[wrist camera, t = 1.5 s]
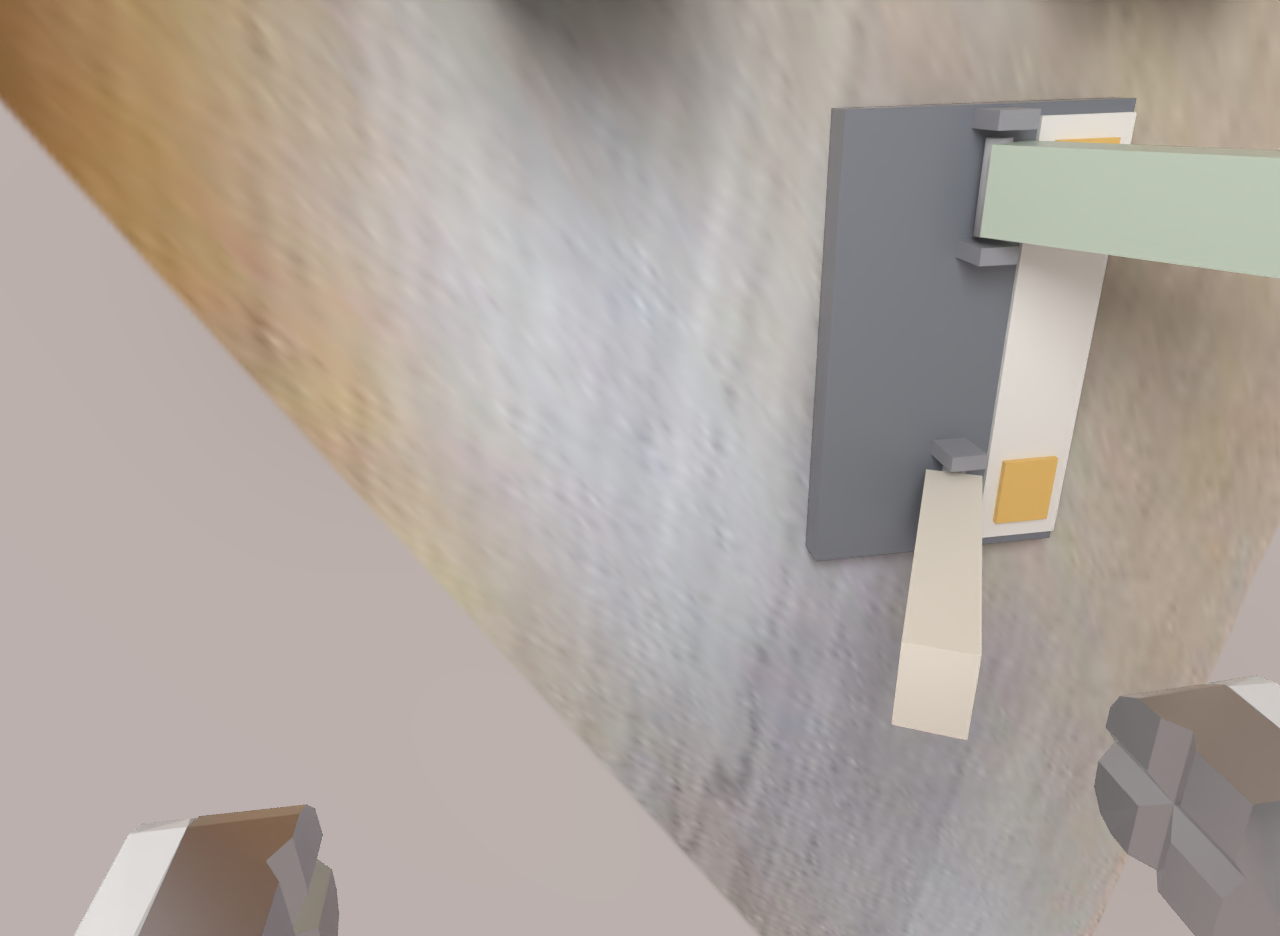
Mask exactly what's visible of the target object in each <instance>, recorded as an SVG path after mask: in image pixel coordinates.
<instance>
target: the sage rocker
mask: <svg viewBox="0 0 1280 936" xmlns="http://www.w3.org/2000/svg"><path fill="white" fill-rule="evenodd" d="M1013 139H1014V137H986V141H985V148H984V156H983V163H982V171H981V179H980V186H979V194H978V201H977V209H976V217H975V224H974V232H973V236H976V237H983V238H990V239H998V240H1005V241H1012V242H1019V243H1026V244H1034V245H1041V246H1048V247H1055V248H1062V249H1070V250H1077V251H1084V252H1091V253H1099V254H1106V255H1113V256H1120V257H1127V258H1135V259H1142V260H1149V261H1156V262H1163V263H1171V264H1178V265H1185V266H1192V267H1199V268H1207V269H1214V270H1221V271H1228V272H1236V273H1243V274H1250V275H1257V276H1264V277H1272V278H1279V279H1280V150H1256V149H1232V148H1207V147H1183V146H1158V145H1133V144H1109V143H1084V142H1060V141H1035V140H1027V141H1018V142H1013Z"/></svg>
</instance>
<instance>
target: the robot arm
mask: <svg viewBox="0 0 1280 936" xmlns="http://www.w3.org/2000/svg"><path fill="white" fill-rule="evenodd" d="M1106 728H1107V730H1108V731H1109V733H1110V734H1111V736H1112V737H1113V739H1114V740H1115V743H1114V744H1113V745H1112V747H1111V748H1110V749H1109V750H1108V751H1107V752H1106V753H1105V754H1104V755H1103V756H1102V758H1101V759H1100V760H1099V761H1098V767H1097V773H1096V779H1095V786H1094V787H1095V791H1096V796H1097V800H1098V805H1099V809H1100V813H1101V815H1102V817H1103V819H1104V821H1105V823H1106V825H1107V827H1108V829H1109V831H1110V833H1111V834H1112V835H1113V837H1114V838H1115V839H1116V840H1117V842H1118V843H1119V844H1120V845H1121V847H1122V848H1123V849H1124V850H1125V852H1126V853H1127V854H1128V855H1130V856H1132V857H1134V858H1136V859H1137V860H1139V861H1141V862H1143V863H1145V864H1147V865H1148V866H1150V867H1152V868H1154V869H1156V870H1157V883H1158V884H1157V885H1158V892H1159V893H1160V894H1161V895H1162V897H1163V898H1164V899H1165V900H1166V901H1167V903H1168V904H1169V905H1170V906H1171V907H1172V909H1173V910H1174V911H1175V912H1176V913H1177V915H1178V916H1179V917H1180V918H1181V919H1182V921H1183V922H1184V923H1185V924H1186V925H1187V927H1188V928H1189V929H1190V930H1191V931H1192V933H1193V934H1194V935H1195V936H1280V685H1278V684H1277V683H1276V682H1273V681H1270V680H1268V679H1264V678H1262V677H1259V676H1251V677H1244V678H1238V679H1231V680H1224V681H1218V682H1212V683H1209V684H1201V685H1194V686H1187V687H1180V688H1173V689H1166V690H1159V691H1152V692H1145V693H1138V694H1131V695H1124V696H1120V697H1119V698H1118V699H1117V700H1116V702H1115V703H1114V704H1113V705H1112V706H1111V707H1110V711H1109V716H1108V720H1107V724H1106ZM322 836H323V834H322V830H321V827H320V824H319V820H318V817H317V814H316V810H315V808H313V807H311V806H308V805H299V806H290V807H280V808H270V809H261V810H252V811H243V812H234V813H225V814H216V815H207V816H199V817H198V818H192V819H182V820H172V821H164V822H163V821H162V822H153V823H143V824H141V825H140V826H139V827H138V828H136V829H135V830H134V831H133V832H132V833H130V834H129V835H128V837H127V838H126V840H125V841H124V843H123V845H122V847H121V849H120V851H119V852H118V854H117V856H116V858H115V860H114V862H113V864H112V866H111V867H110V869H109V871H108V873H107V875H106V877H105V879H104V880H103V882H102V884H101V886H100V888H99V890H98V892H97V893H96V895H95V897H94V899H93V901H92V903H91V905H90V907H89V908H88V910H87V912H86V914H85V916H84V918H83V920H82V921H81V923H80V925H79V927H78V929H77V931H76V933H75V934H74V936H338V921H339V910H338V899H337V889H336V885H335V881H334V876H333V872H332V869H330V868H329V867H328V866H326V865H325V864H324V863H322V862H321V861H319V860H318V859H317V856H318V852H319V848H320V844H321V840H322Z"/></svg>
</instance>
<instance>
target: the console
mask: <svg viewBox="0 0 1280 936" xmlns="http://www.w3.org/2000/svg"><path fill="white" fill-rule="evenodd" d="M1135 102H1136V98H1114V97H1111V98H1085V99H1059V100H1033V101H1008V102H982V103H956V104H930V105H905V106H879V107H853V108H832V114H831V130H830V147H829V164H828V181H827V197H826V214H825V231H824V247H823V264H822V281H821V298H820V314H819V331H818V348H817V365H816V381H815V398H814V415H813V432H812V448H811V465H810V482H809V498H808V515H807V532H806V547H807V549H808V550H809V552H810V553H811V555H812V556H813V558H814V560H815V561H822V560H832V559H842V558H852V557H861V556H871V555H881V554H891V553H901V552H911V551H915V544H916V537H917V530H918V523H919V516H920V509H921V502H922V495H923V488H924V481H925V474H926V469H928V470H937V471H942V469H943V466H944V467H946V468H947V469H948V470H949V471H950V472H959V471H966V473H965V474H972V475H981V476H982V544H991V543H1001V542H1011V541H1021V540H1031V539H1041V538H1049V537H1050V532H1051V531H1053V530H1054V525H1055V520H1056V515H1057V510H1058V505H1059V500H1060V495H1061V490H1062V485H1063V480H1064V475H1065V470H1066V465H1067V460H1068V455H1069V450H1070V445H1071V440H1072V435H1073V430H1074V425H1075V420H1076V415H1077V410H1078V405H1079V400H1080V395H1081V390H1082V385H1083V380H1084V375H1085V370H1086V365H1087V360H1088V355H1089V350H1090V345H1091V340H1092V335H1093V330H1094V325H1095V320H1096V315H1097V310H1098V305H1099V300H1100V295H1101V290H1102V285H1103V280H1104V275H1105V270H1106V265H1107V260H1108V255H1106V254H1099V253H1091V252H1084V251H1077V250H1070V249H1062V248H1055V247H1048V246H1041V245H1034V244H1026V243H1019V242H1012V241H1005V240H998V239H990V238H983V237H976V236H973V232H974V224H975V217H976V209H977V201H978V194H979V186H980V179H981V171H982V163H983V156H984V148H985V141H986V137H1014V139H1013V142H1018V141H1027V140H1035V141H1060V142H1084V143H1109V144H1131V139H1132V134H1133V129H1134V124H1135V119H1136V114H1137V112H1134V107H1135Z"/></svg>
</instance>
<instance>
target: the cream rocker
mask: <svg viewBox="0 0 1280 936" xmlns="http://www.w3.org/2000/svg"><path fill="white" fill-rule="evenodd" d="M965 473H966V471H959V472H950V471H949V470H948V469H947V468H946V467H944V466H943V469H942V471H937V470H928V469H926V474H925V481H924V488H923V495H922V502H921V509H920V516H919V523H918V530H917V537H916V544H915V551H914V558H913V565H912V572H911V579H910V586H909V593H908V600H907V607H906V614H905V621H904V628H903V635H902V642H901V650H900V658H899V667H898V675H897V683H896V691H895V700H894V708H893V716H892V724H891V725H896V726H901V727H905V728H910V729H915V730H920V731H924V732H929V733H934V734H939V735H944V736H948V737H953V738H958V739H963V740H967V739H968V733H969V727H970V722H971V716H972V710H973V704H974V698H975V692H976V687H977V681H978V675H979V669H980V663H981V657H982V476H981V475H972V474H965Z"/></svg>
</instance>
